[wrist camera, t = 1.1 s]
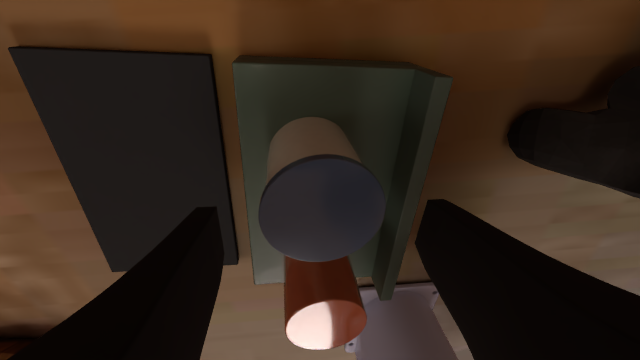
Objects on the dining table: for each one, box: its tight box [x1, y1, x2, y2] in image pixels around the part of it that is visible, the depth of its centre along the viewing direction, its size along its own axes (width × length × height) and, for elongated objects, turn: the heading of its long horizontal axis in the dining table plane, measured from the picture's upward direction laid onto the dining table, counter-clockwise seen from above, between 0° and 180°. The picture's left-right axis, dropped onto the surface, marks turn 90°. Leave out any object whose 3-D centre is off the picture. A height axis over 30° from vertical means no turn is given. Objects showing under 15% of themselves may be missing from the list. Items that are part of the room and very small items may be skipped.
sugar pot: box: [258, 117, 386, 262], centre depth 12 cm, size 5×5×5 cm
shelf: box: [232, 55, 453, 301], centre depth 16 cm, size 14×9×4 cm, turn 177°
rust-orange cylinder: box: [283, 254, 367, 350], centre depth 15 cm, size 4×4×5 cm
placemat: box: [8, 46, 239, 272], centre depth 16 cm, size 14×8×1 cm, turn 177°
